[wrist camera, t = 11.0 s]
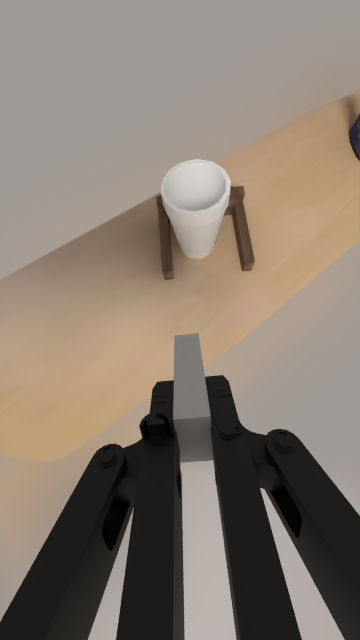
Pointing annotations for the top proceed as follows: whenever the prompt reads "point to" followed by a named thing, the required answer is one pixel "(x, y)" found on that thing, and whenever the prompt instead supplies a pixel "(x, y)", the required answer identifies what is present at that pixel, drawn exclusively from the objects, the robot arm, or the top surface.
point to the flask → (355, 137)
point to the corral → (233, 209)
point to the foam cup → (196, 204)
